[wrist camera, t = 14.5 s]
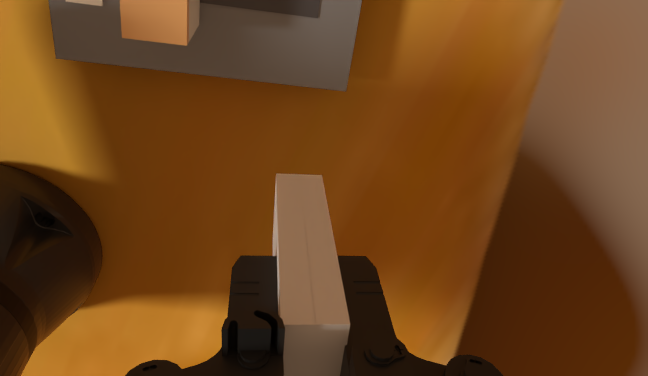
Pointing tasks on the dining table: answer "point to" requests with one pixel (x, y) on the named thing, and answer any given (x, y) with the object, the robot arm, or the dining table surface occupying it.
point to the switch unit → (223, 40)
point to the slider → (160, 20)
